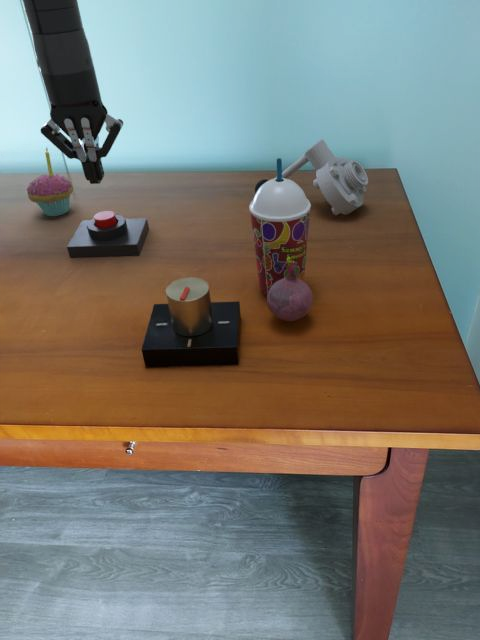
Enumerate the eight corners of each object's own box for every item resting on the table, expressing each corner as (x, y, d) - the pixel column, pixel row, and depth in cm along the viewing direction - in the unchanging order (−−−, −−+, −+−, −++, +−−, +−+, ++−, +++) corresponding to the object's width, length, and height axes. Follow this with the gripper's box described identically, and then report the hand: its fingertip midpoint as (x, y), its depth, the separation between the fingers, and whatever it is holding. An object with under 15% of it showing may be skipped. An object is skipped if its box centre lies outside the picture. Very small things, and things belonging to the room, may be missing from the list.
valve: (304, 238, 112) (261, 179, 109) (381, 187, 100) (336, 119, 96) (287, 258, 105) (240, 195, 101) (368, 205, 92) (319, 132, 89)
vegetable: (317, 313, 75) (320, 251, 69) (303, 338, 71) (303, 275, 65) (278, 305, 77) (277, 244, 71) (261, 329, 73) (258, 266, 67)
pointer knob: (178, 310, 72) (172, 274, 68) (217, 312, 71) (212, 276, 67) (167, 335, 68) (160, 297, 64) (208, 337, 67) (203, 300, 63)
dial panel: (145, 367, 68) (140, 348, 66) (157, 321, 75) (153, 302, 73) (238, 364, 67) (236, 345, 65) (240, 318, 75) (239, 300, 73)
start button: (93, 229, 90) (91, 220, 89) (98, 220, 93) (96, 211, 92) (114, 229, 90) (112, 219, 89) (119, 219, 93) (116, 210, 92)
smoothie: (293, 311, 76) (293, 175, 63) (244, 297, 79) (234, 165, 66) (317, 282, 81) (322, 153, 69) (270, 270, 85) (266, 144, 72)
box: (70, 258, 90) (63, 237, 88) (85, 231, 98) (79, 211, 96) (139, 255, 90) (135, 234, 88) (149, 228, 98) (145, 208, 95)
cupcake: (56, 199, 110) (38, 141, 102) (88, 206, 107) (71, 146, 99) (25, 217, 104) (4, 156, 96) (58, 224, 101) (38, 161, 93)
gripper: (117, 57, 79) (139, 171, 90) (30, 62, 79) (63, 175, 90) (106, 69, 73) (131, 189, 84) (12, 74, 73) (50, 193, 84)
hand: (96, 181), depth 87 cm, fingers closed
